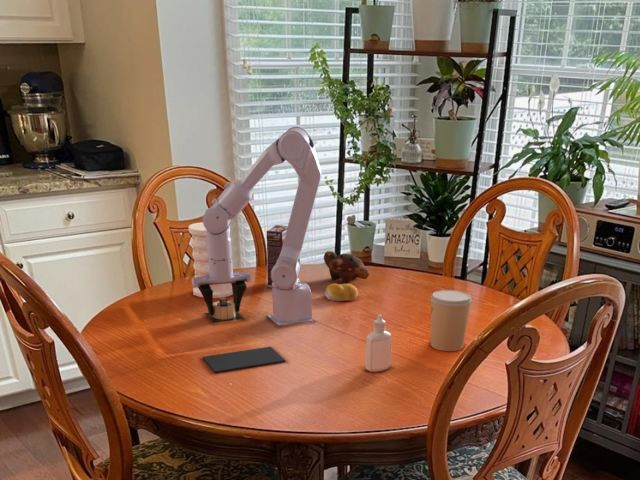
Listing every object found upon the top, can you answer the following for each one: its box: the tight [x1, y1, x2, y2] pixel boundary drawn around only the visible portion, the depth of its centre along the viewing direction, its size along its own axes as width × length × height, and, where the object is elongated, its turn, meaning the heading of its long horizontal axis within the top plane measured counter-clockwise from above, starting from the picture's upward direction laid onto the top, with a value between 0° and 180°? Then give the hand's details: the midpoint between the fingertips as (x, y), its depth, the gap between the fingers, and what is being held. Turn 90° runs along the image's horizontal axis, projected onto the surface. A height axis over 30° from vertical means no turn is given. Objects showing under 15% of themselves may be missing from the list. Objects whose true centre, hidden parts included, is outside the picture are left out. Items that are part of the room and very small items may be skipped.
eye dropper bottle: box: [365, 313, 393, 373], centre depth 152 cm, size 4×6×12 cm
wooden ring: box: [213, 300, 236, 319], centre depth 180 cm, size 6×6×3 cm
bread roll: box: [324, 283, 359, 302], centre depth 198 cm, size 8×9×4 cm
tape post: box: [204, 297, 245, 324], centre depth 180 cm, size 8×8×5 cm
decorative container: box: [188, 221, 233, 299], centre depth 194 cm, size 12×12×18 cm
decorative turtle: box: [323, 250, 370, 284], centre depth 211 cm, size 10×15×8 cm, turn 67°
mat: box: [202, 346, 286, 374], centre depth 157 cm, size 16×9×1 cm, turn 117°
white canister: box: [430, 289, 473, 352], centre depth 166 cm, size 9×9×12 cm
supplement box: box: [266, 224, 288, 289], centre depth 203 cm, size 9×5×16 cm, turn 168°
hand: (224, 312), depth 180 cm, fingers open, 6 cm apart
